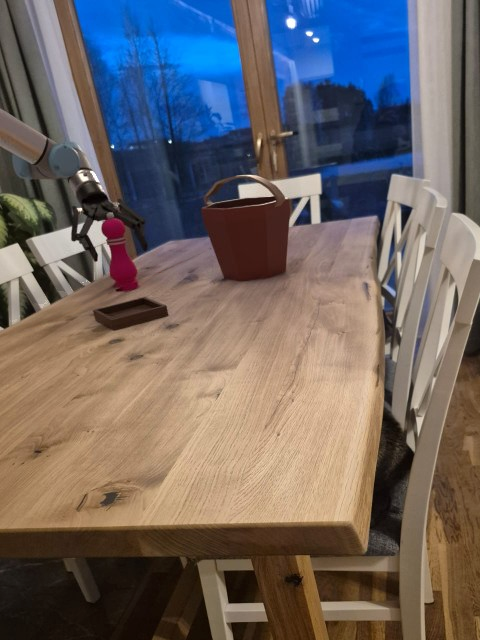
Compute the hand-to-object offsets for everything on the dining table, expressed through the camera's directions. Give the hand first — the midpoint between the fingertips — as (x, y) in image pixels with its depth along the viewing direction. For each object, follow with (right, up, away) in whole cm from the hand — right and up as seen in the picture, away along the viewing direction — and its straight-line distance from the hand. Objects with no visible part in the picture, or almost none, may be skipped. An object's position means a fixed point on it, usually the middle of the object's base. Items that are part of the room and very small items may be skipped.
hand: (121, 253), depth 152 cm
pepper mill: (0, -8, +6) cm, 10 cm away
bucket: (+35, -4, +7) cm, 36 cm away
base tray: (+9, -20, -22) cm, 31 cm away
